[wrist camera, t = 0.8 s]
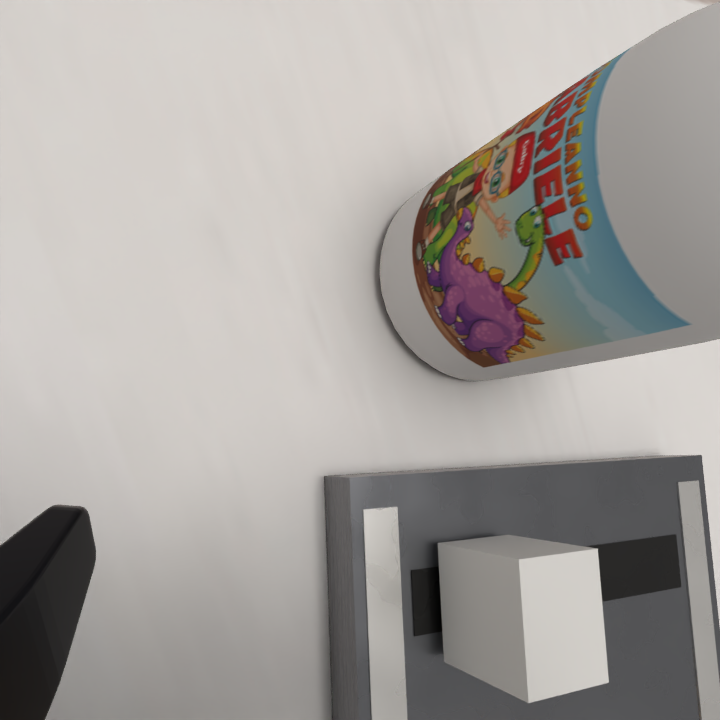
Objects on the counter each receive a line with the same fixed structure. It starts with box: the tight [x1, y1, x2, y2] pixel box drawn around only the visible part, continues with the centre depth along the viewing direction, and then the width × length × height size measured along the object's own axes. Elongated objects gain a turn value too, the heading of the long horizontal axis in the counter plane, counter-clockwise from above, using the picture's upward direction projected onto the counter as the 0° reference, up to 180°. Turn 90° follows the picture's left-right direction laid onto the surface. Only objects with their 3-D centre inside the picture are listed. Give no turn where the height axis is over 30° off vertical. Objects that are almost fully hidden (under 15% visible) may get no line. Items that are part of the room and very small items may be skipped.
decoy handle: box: [438, 535, 609, 703], centre depth 20 cm, size 4×3×4 cm
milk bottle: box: [379, 2, 720, 381], centre depth 17 cm, size 8×8×20 cm
